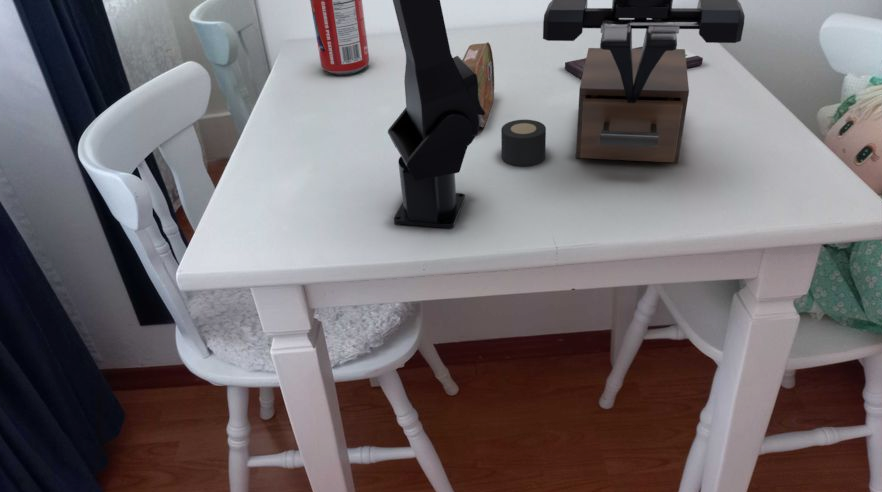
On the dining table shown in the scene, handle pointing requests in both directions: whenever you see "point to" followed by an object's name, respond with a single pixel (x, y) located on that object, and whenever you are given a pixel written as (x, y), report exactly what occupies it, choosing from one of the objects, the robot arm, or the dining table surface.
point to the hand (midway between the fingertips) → (631, 101)
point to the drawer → (630, 128)
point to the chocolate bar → (578, 65)
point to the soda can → (340, 35)
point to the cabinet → (607, 81)
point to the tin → (482, 75)
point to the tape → (523, 142)
